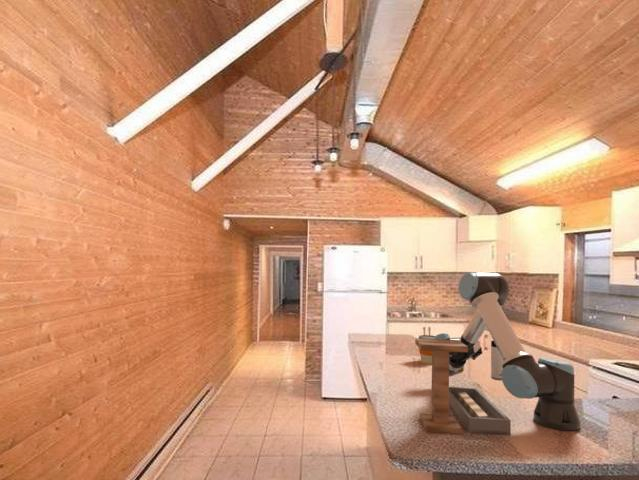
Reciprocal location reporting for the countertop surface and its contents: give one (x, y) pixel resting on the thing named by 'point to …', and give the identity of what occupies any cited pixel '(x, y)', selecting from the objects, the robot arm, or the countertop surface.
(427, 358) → the reusable coffee cup
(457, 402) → the tray
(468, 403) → the ash bar
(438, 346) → the shelf stand
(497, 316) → the robot arm
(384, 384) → the countertop surface
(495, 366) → the travel mug
